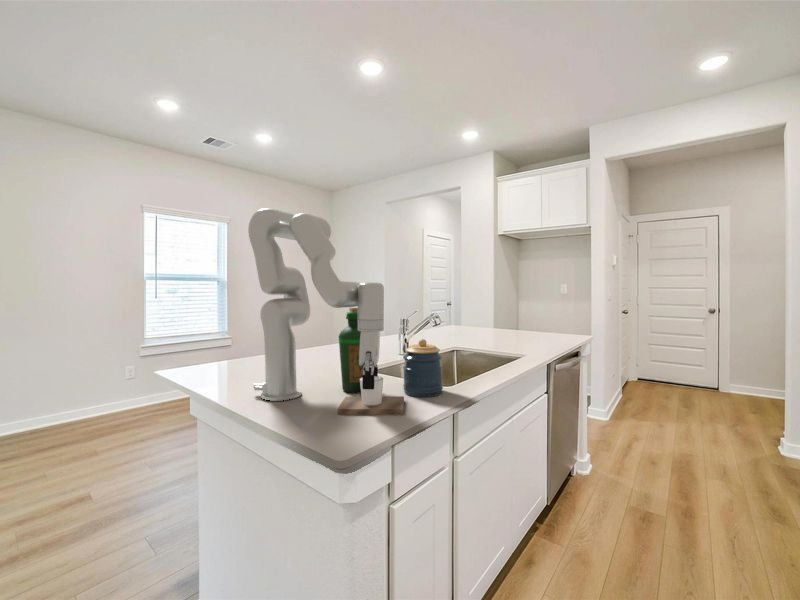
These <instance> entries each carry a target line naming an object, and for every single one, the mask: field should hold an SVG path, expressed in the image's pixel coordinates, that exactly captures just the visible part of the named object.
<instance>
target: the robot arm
mask: <svg viewBox="0 0 800 600" xmlns="http://www.w3.org/2000/svg"><path fill="white" fill-rule="evenodd" d="M331 235H332V230H331V226H330V224H329V222H328V221H327V220H326V219H325V218H323V217H320V216H316V215H313V214H310V213H304V212H303V213H298V214H293V213H290V212H286V211H282V210H278V209H275V208H268V207H267V208H260V209H258V210H256V211H255V212H254V213H253V214H252V216H251V217H250V220H249V223H248V238H249V239H248V240H249V241H250V244H251V249H252V250H253V251H252V252H253V255H254V256H253V257H254V260H255V266H256V271H257V277H258V282H259V283H258V284H259V287H260V289H261V290H262V292H263V293H264V294H267V295H271V296H283V298H272V299H269V300H267V301H266V302H265V303H264V304H263V305H262V307H261V309H260V315H259V316H260V320H261V326H262V331H263V338H264V340H263V342H264V364H265V366H264V369H265V370H264V371H265V376H264V377H265V378H264V379H265V382H263V383H262V382H261V383H260V382H259V383H253V389H254V390H253V391H261V393H260V399H261V398H262V399H261V400H263V399H265V400H264V401H266V400H270V401H269V402H282V401H283V400H284V401H289V399H290V400H293V399H296V398H299V397H300V396H302V389H300V388H298V387H297V358H296V357H297V350H296V349H297V347H296V344H297V343H296V338H295V335H294V332H293V330H292V327H297V326H302V325H304V324H306V323H307V322H308V321H309V319H310V315H311V305H310V300H309V299H310V298H309V295H308V288H307V284H306V279H305V277H304V275H303V274H302V272H301V270H299V269H297V268H295V267H292V266H285V265H286V264H285V262H284V256H283V253H282V250H281V247H280V246H279V244H278V243H277V241H276V240H275V237H276V238H279V239H280V238H282V239H285V240H286V239H287V240H292V241H296V243H297V244H298V245H299V246H300V248H301V250H302V252H303V254H305V257H307V260H308V262H309V263H310V275H311V280H312V284H313V285H314V288H315V289H316V291H317V292H318V294H319V296H320V297H321V298H322V299H323V301H324V302H325V303H326V304H327V305H328V306H330V307H331V308H335V309H340V308H343V309H344V308H356V307H357V308H358V331H361V334H360V351H359V366H360V367H361V366H362V365H363V364H364V368H363V389H374V376H379V370H378V368H379V367H378V362H379V360H380V350H381V349H380V348H381V347H380V341H381V340H380V339H381V337H380V336H381V333H380V332H383V331H385V329H384V328H385V322H384V321H385V317H384V315H385V285H383V283H381V282H356V281H343V280H342V281H341V280H340V279H339V278H338V276H337V274H336V273H335V270H334V269H333V267H332V265H331V261H332V260H333V259H334V257H335V256H336V253H337V251H336V248H335V247H334V245H333V243H332V242H331V241H330V238H331Z"/></svg>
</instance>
